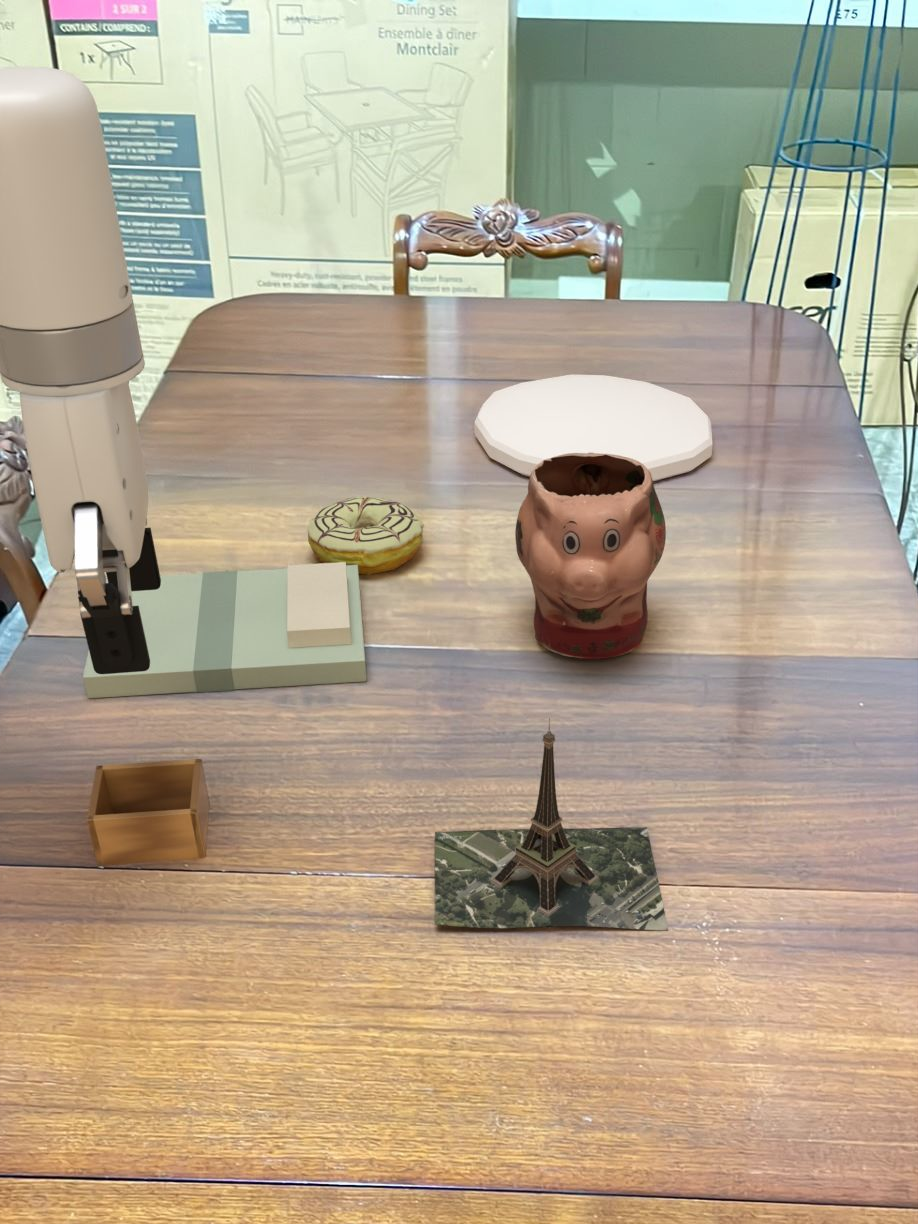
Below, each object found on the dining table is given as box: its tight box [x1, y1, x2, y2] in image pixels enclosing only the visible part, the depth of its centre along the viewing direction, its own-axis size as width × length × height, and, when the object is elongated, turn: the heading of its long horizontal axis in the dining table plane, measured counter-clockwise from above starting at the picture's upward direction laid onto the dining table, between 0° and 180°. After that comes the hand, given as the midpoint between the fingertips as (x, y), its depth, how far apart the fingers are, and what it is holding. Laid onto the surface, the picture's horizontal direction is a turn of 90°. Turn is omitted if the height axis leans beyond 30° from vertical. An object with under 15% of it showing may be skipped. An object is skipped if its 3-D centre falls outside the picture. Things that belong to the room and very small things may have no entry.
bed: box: [82, 562, 368, 699], centre depth 113 cm, size 22×16×4 cm
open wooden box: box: [86, 758, 210, 866], centre depth 91 cm, size 7×6×6 cm
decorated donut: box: [307, 496, 425, 575], centre depth 124 cm, size 10×11×4 cm
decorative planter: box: [514, 453, 667, 659], centre depth 112 cm, size 20×12×14 cm, turn 3°
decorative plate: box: [474, 373, 714, 482], centre depth 144 cm, size 25×4×25 cm
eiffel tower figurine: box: [434, 718, 669, 932], centre depth 86 cm, size 15×10×13 cm
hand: (130, 627), depth 83 cm, fingers open, 9 cm apart
